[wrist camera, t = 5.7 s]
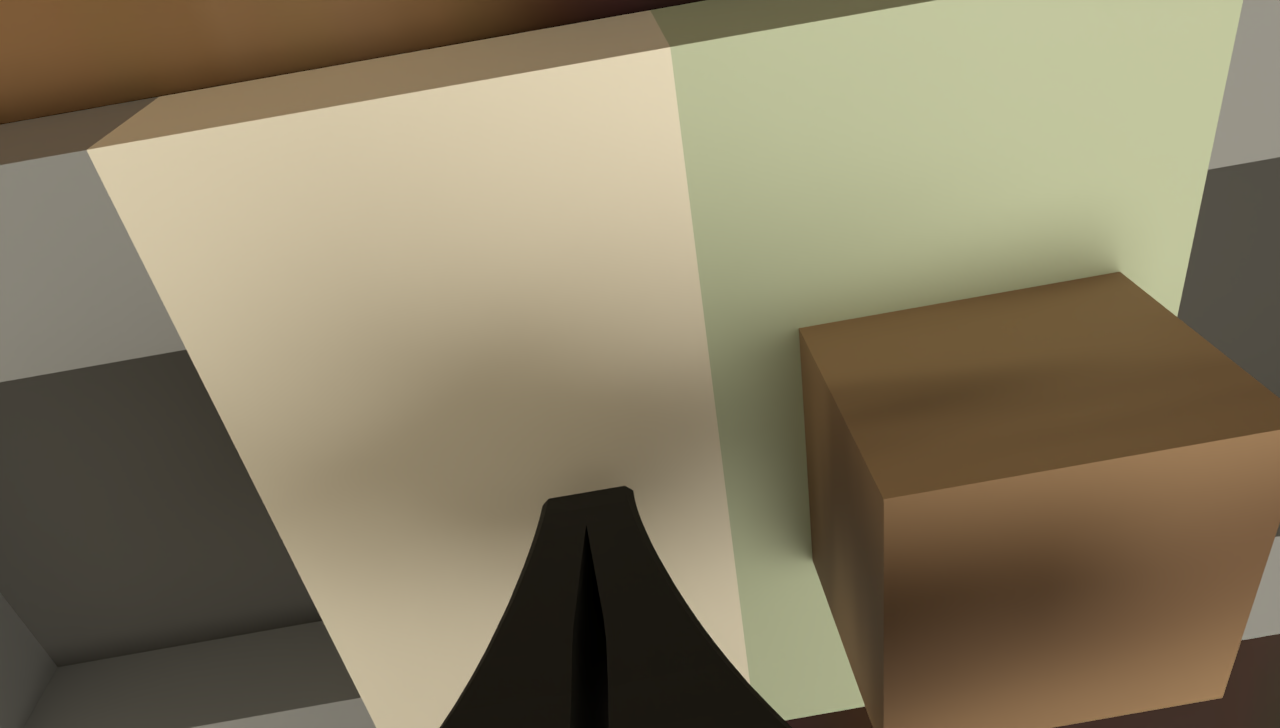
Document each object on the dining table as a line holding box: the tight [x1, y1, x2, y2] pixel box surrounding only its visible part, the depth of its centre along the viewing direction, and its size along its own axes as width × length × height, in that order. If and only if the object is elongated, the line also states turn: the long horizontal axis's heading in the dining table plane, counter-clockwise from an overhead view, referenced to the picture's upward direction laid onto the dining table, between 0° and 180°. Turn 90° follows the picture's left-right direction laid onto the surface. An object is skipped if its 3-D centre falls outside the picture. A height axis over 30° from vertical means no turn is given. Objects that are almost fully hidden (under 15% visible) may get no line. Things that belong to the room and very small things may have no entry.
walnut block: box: [799, 272, 1280, 728], centre depth 13 cm, size 5×5×4 cm
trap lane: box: [0, 0, 1280, 728], centre depth 16 cm, size 14×32×2 cm, turn 98°
